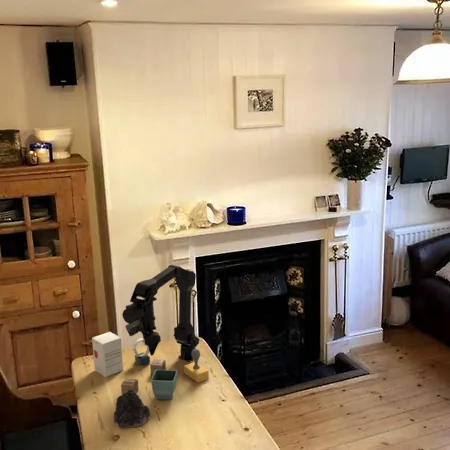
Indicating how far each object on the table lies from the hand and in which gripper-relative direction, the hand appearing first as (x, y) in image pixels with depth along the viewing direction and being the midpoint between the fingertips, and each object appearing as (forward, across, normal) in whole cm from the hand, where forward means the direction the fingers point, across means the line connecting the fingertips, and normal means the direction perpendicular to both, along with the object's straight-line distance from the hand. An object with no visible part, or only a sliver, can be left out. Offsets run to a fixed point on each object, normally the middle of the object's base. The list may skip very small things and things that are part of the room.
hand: (149, 350), depth 228 cm
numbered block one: (+13, +7, -10) cm, 18 cm away
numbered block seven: (+14, -5, +4) cm, 15 cm away
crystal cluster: (+13, +25, -13) cm, 31 cm away
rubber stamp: (+14, +3, +18) cm, 23 cm away
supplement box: (+13, -15, -15) cm, 25 cm away
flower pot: (+13, +14, +2) cm, 20 cm away
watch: (+14, -16, -1) cm, 21 cm away
